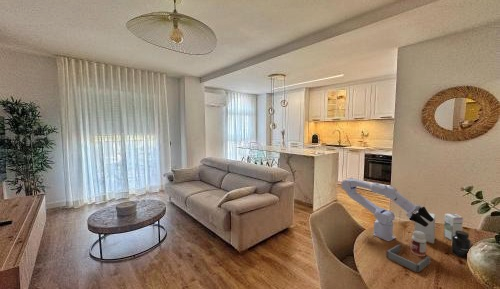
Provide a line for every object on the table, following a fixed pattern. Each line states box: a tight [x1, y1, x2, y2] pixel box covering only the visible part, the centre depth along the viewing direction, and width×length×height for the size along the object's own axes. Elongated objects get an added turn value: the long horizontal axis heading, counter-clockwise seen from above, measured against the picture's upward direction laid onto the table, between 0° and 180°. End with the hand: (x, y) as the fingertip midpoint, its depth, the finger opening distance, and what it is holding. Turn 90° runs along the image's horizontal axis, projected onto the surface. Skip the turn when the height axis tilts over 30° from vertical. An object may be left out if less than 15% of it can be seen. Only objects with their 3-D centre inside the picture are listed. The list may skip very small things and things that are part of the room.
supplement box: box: [414, 210, 436, 244], centre depth 126 cm, size 9×9×15 cm
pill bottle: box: [410, 230, 427, 257], centre depth 111 cm, size 6×6×11 cm
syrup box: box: [443, 212, 464, 241], centre depth 125 cm, size 6×6×14 cm
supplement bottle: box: [451, 230, 472, 259], centre depth 109 cm, size 7×7×12 cm
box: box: [386, 243, 431, 274], centre depth 106 cm, size 14×13×4 cm
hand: (429, 223), depth 111 cm, fingers open, 7 cm apart
